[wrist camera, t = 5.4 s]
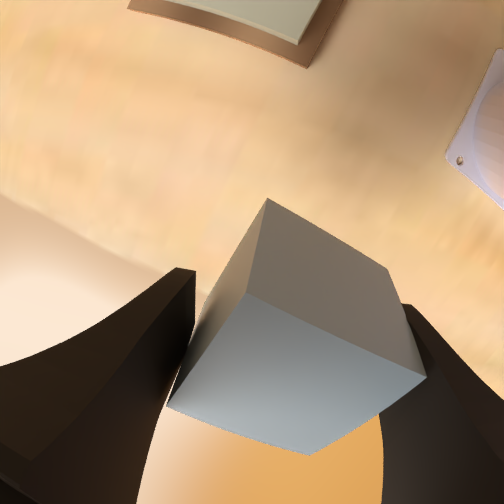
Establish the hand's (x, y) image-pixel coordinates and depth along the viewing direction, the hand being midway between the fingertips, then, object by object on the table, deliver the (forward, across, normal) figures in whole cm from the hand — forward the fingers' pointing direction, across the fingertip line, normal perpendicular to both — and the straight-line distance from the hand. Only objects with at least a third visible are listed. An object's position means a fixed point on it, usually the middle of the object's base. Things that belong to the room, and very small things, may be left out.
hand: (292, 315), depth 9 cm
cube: (+1, 0, 0) cm, 1 cm away
